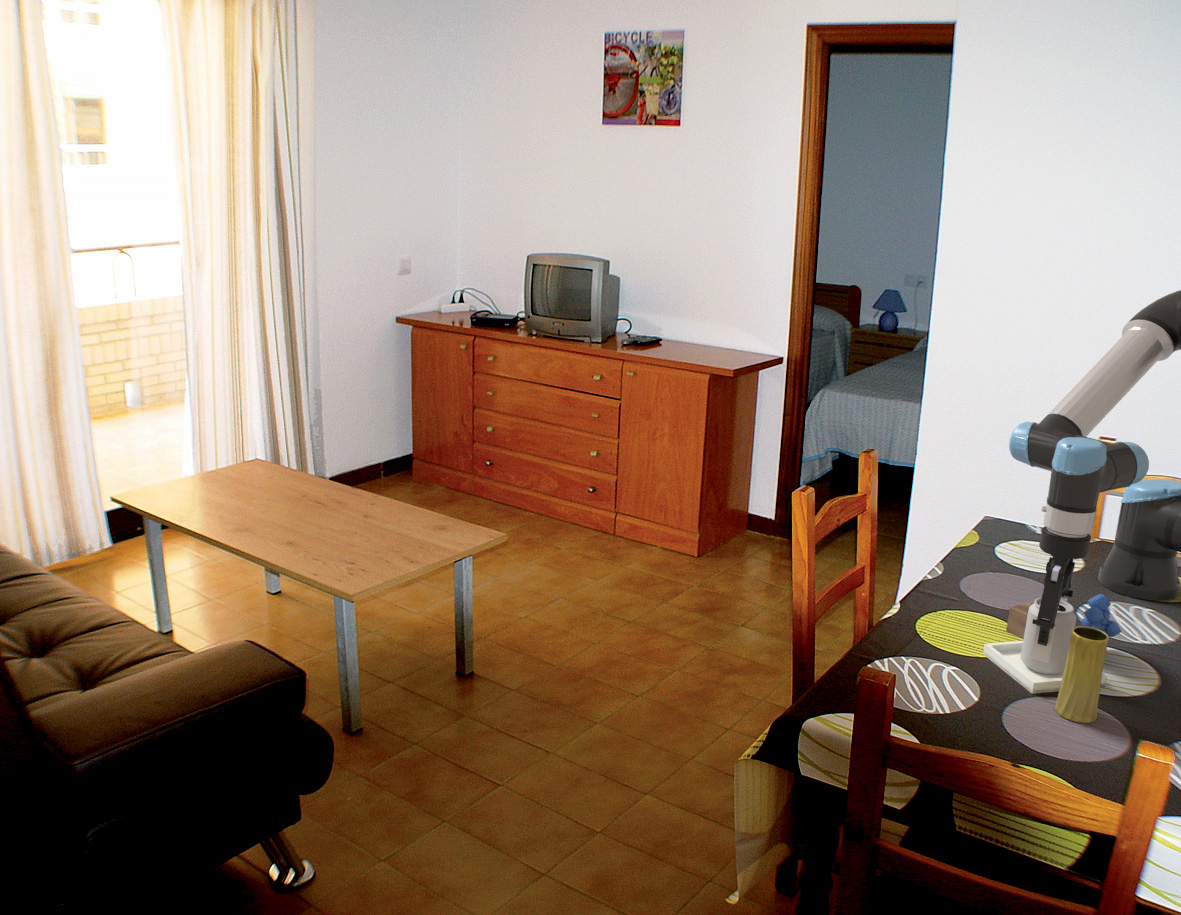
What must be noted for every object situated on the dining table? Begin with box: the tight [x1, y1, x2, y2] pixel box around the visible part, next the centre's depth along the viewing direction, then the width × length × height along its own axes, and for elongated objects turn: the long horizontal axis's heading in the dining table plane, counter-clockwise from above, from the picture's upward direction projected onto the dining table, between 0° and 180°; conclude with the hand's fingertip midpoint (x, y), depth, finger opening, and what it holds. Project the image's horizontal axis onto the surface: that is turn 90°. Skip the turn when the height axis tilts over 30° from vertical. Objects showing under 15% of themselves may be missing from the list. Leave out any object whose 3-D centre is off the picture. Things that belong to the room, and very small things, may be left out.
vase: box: [1054, 625, 1110, 724], centre depth 155 cm, size 6×6×14 cm
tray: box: [982, 640, 1108, 695], centre depth 170 cm, size 14×14×2 cm
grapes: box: [1079, 593, 1123, 638], centre depth 174 cm, size 12×7×12 cm, turn 143°
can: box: [1020, 597, 1077, 675], centre depth 168 cm, size 8×8×12 cm
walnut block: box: [1005, 601, 1033, 640], centre depth 183 cm, size 5×5×5 cm
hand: (1046, 644), depth 169 cm, fingers open, 13 cm apart
